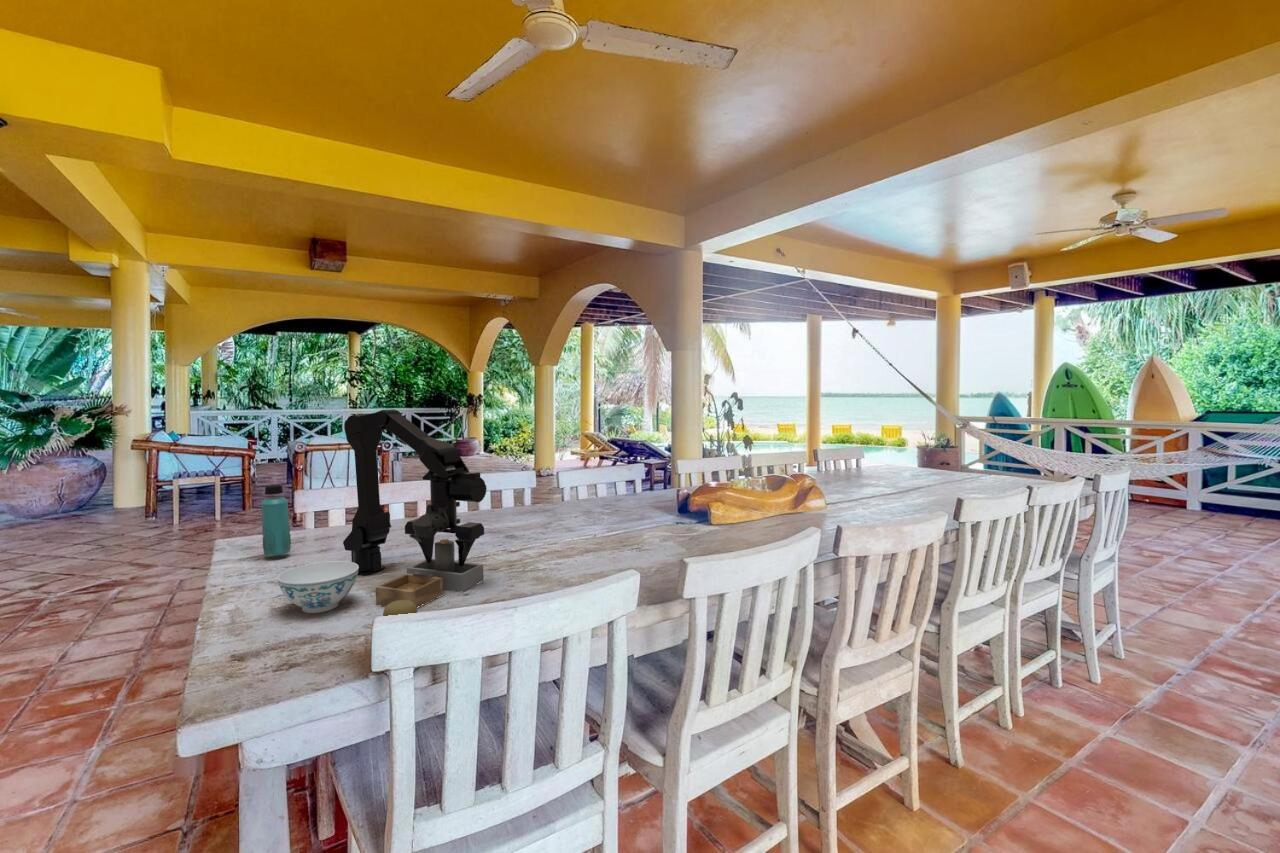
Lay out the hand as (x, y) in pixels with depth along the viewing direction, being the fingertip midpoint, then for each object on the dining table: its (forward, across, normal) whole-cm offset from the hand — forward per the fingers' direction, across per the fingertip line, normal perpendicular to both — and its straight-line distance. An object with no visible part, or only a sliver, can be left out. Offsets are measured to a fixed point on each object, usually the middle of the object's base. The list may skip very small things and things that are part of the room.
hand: (445, 564), depth 137 cm
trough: (+4, 0, 0) cm, 4 cm away
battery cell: (+4, 0, 0) cm, 4 cm away
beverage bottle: (+5, -57, +2) cm, 57 cm away
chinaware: (+5, -15, -21) cm, 27 cm away
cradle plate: (+3, 0, -12) cm, 12 cm away
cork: (+5, +20, -37) cm, 42 cm away
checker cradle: (+4, 0, -12) cm, 13 cm away
